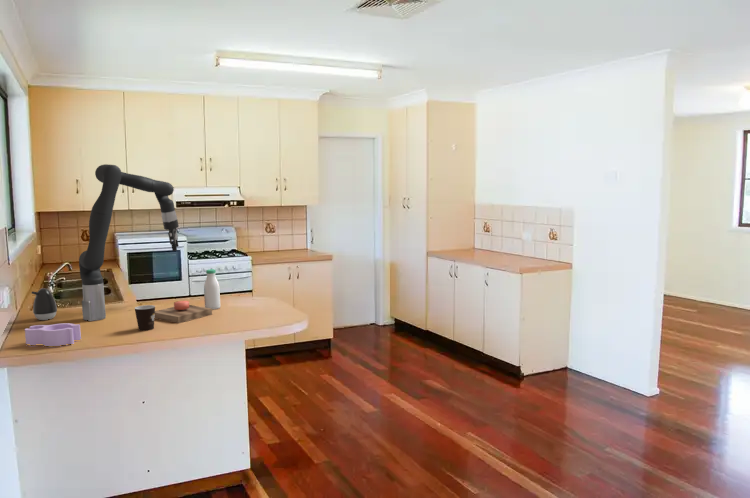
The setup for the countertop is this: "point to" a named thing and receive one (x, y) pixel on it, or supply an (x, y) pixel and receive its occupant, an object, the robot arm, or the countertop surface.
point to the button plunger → (181, 305)
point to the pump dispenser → (44, 305)
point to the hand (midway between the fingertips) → (175, 248)
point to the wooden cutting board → (182, 314)
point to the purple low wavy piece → (53, 334)
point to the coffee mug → (145, 317)
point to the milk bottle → (211, 290)
